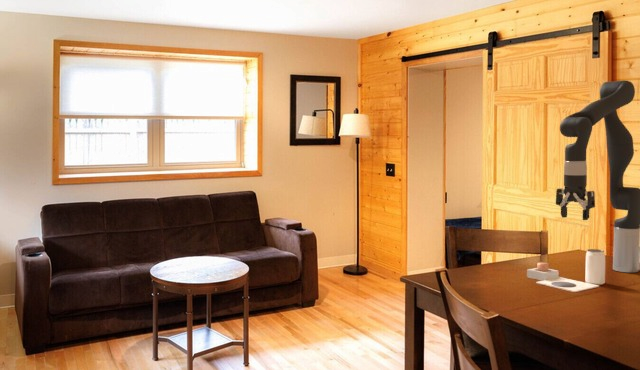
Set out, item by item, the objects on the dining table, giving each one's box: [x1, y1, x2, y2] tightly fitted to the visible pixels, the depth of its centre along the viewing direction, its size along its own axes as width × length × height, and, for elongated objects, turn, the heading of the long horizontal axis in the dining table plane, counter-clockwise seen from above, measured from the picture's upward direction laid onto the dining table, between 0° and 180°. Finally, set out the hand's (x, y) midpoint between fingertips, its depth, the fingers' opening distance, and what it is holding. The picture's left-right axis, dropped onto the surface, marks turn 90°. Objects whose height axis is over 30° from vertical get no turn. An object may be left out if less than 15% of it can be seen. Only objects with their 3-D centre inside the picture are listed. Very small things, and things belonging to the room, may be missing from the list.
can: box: [584, 248, 606, 286], centre depth 223 cm, size 6×6×12 cm
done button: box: [536, 261, 550, 272], centre depth 232 cm, size 4×4×4 cm
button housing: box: [526, 267, 560, 281], centre depth 232 cm, size 8×8×3 cm
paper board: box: [535, 276, 600, 293], centre depth 221 cm, size 14×16×1 cm
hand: (574, 218), depth 220 cm, fingers open, 8 cm apart
